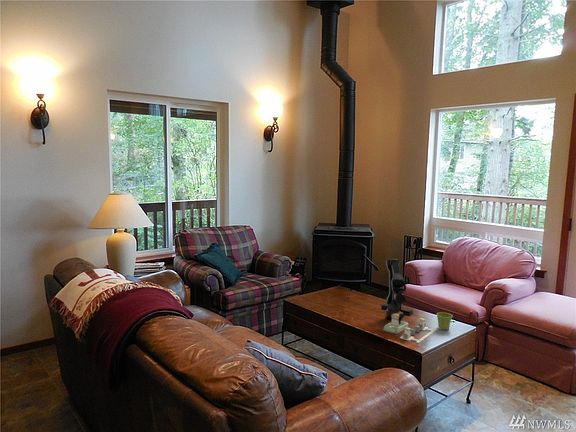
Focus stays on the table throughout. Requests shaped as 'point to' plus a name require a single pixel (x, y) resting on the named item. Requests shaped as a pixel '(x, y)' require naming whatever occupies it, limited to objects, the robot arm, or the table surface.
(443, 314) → the plant pot
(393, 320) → the block
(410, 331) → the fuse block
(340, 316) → the table surface
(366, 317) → the table surface
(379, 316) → the table surface
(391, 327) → the tray
